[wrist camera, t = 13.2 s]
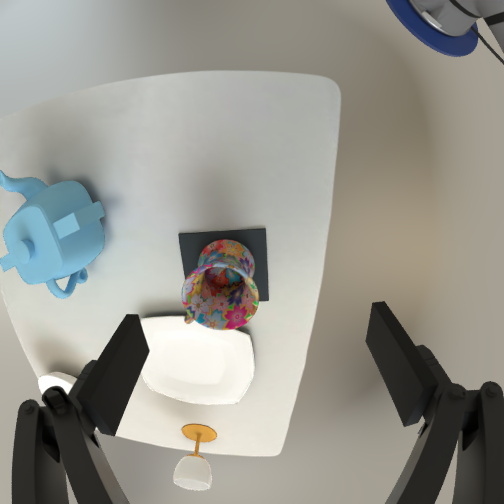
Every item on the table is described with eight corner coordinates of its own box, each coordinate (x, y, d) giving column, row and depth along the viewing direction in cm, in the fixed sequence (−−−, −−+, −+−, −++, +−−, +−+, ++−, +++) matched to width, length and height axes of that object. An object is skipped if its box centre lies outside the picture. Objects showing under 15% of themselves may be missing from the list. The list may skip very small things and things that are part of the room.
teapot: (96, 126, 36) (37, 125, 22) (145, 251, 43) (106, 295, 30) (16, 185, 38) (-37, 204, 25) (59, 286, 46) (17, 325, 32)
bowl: (37, 353, 53) (25, 368, 47) (95, 363, 52) (83, 382, 47) (68, 404, 60) (60, 419, 54) (123, 416, 60) (117, 434, 54)
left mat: (265, 228, 42) (265, 229, 41) (268, 299, 46) (268, 301, 46) (178, 233, 42) (178, 234, 42) (190, 302, 46) (189, 304, 46)
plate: (264, 320, 47) (264, 326, 46) (246, 403, 56) (246, 410, 54) (132, 300, 46) (128, 306, 44) (143, 387, 54) (140, 393, 53)
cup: (214, 443, 63) (209, 493, 48) (180, 437, 62) (171, 486, 47) (219, 428, 59) (214, 482, 44) (183, 420, 59) (172, 474, 44)
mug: (226, 222, 41) (217, 247, 31) (270, 264, 43) (275, 300, 33) (173, 274, 44) (154, 309, 34) (216, 310, 46) (208, 352, 36)
